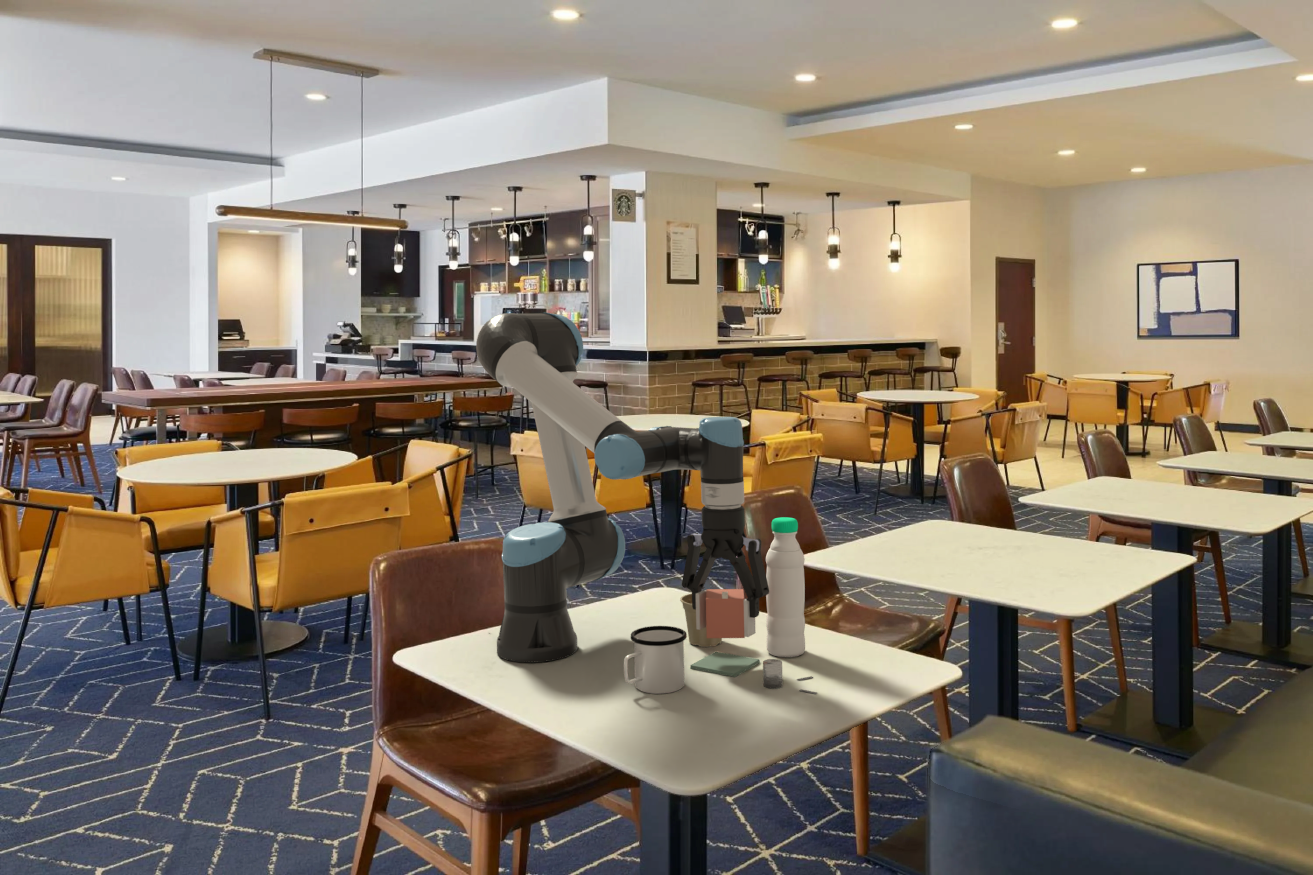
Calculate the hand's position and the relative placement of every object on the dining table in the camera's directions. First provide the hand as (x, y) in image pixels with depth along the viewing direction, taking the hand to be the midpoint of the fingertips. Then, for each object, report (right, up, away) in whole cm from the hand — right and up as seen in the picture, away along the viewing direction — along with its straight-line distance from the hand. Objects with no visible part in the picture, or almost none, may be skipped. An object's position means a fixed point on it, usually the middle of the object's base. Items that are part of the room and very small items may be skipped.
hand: (725, 631), depth 182 cm
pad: (0, -6, +1) cm, 6 cm away
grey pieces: (+11, -7, -10) cm, 16 cm away
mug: (-13, -8, -10) cm, 18 cm away
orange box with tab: (0, 0, 0) cm, 0 cm away
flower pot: (-3, -5, +15) cm, 16 cm away
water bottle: (+12, -5, +7) cm, 15 cm away
